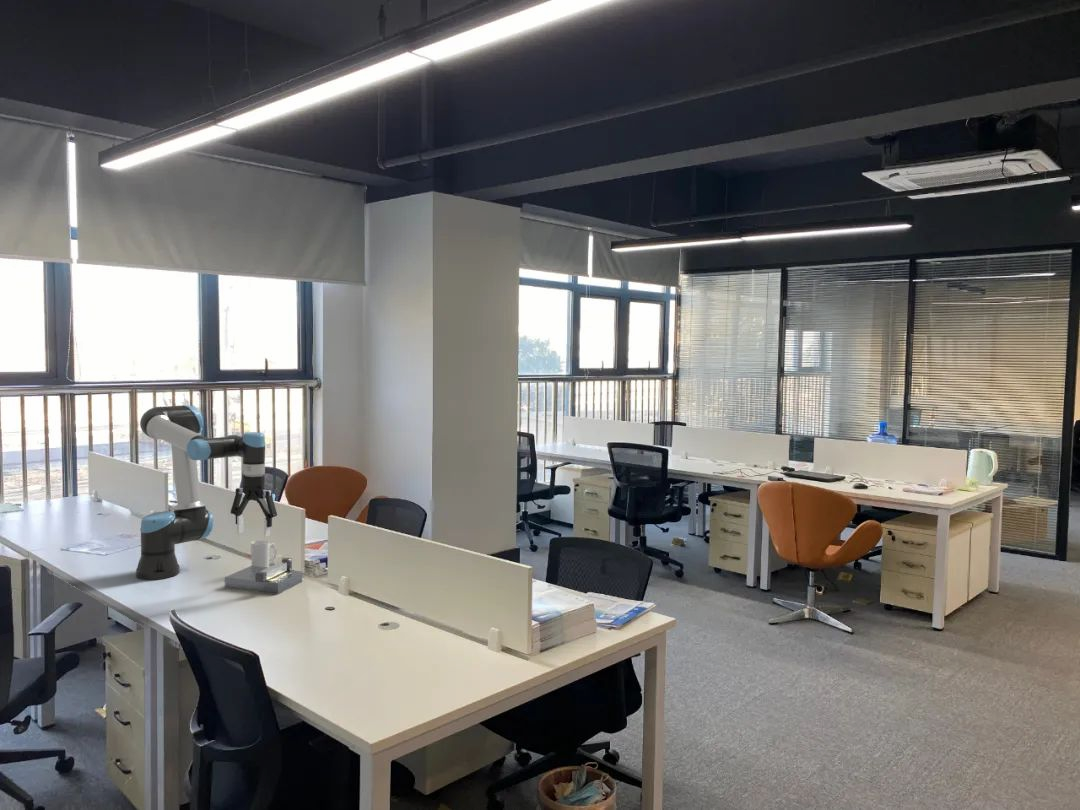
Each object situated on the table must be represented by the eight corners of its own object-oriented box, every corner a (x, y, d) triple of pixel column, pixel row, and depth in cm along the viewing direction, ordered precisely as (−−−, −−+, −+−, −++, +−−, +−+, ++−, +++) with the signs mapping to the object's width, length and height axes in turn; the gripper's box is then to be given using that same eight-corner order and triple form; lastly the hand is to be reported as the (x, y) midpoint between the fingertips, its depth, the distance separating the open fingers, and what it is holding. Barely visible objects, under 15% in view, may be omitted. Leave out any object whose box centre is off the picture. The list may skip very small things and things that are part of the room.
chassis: (224, 587, 283) (225, 576, 283) (251, 575, 299) (251, 564, 299) (278, 594, 278) (278, 582, 278) (302, 581, 294) (302, 570, 293)
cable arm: (285, 567, 296) (285, 557, 296) (293, 568, 295) (293, 558, 295) (254, 581, 277) (255, 571, 277) (263, 582, 276) (263, 572, 276)
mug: (255, 575, 299) (255, 545, 299) (248, 571, 304) (248, 541, 304) (280, 571, 306) (280, 541, 305) (272, 567, 311) (273, 538, 310)
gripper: (220, 474, 281) (219, 533, 283) (275, 478, 276) (275, 539, 277) (232, 471, 289) (232, 529, 290) (287, 475, 283) (287, 534, 285)
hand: (253, 534), depth 284 cm, fingers open, 10 cm apart
